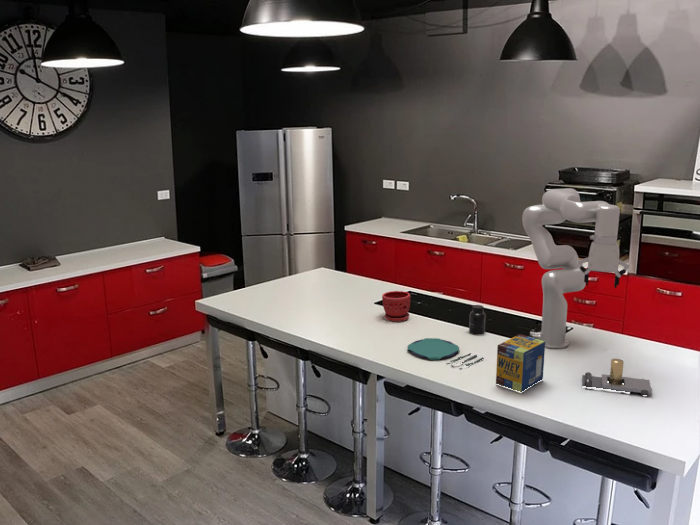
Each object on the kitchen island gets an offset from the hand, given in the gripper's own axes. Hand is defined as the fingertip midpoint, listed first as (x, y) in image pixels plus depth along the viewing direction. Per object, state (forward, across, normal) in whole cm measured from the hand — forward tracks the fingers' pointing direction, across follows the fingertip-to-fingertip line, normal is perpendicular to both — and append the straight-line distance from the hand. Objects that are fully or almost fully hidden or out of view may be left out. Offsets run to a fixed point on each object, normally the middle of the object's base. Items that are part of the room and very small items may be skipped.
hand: (601, 285), depth 227 cm
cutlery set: (+34, -56, -4) cm, 66 cm away
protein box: (+33, -25, -21) cm, 46 cm away
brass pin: (+33, +7, -14) cm, 36 cm away
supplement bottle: (+34, -48, +26) cm, 64 cm away
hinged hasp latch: (+32, +7, -14) cm, 36 cm away
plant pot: (+34, -87, +32) cm, 99 cm away
